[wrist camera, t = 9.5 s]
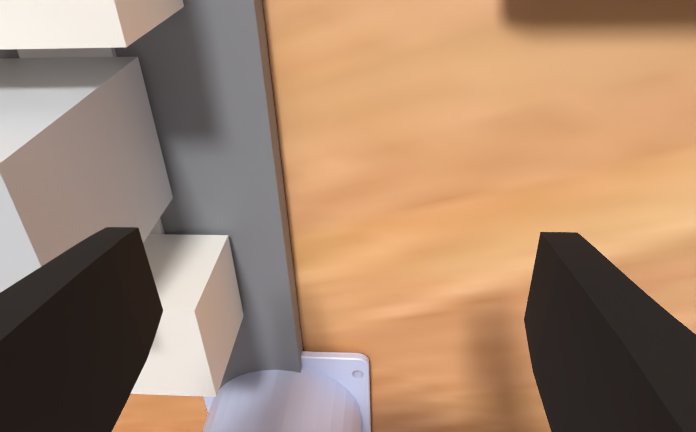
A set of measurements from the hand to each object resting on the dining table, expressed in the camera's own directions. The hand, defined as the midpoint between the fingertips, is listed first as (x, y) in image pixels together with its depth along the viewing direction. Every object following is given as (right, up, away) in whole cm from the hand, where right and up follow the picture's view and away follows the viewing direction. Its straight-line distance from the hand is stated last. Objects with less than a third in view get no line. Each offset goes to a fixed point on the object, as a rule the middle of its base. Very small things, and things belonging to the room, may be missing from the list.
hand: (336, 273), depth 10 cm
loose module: (-8, +4, +8) cm, 12 cm away
